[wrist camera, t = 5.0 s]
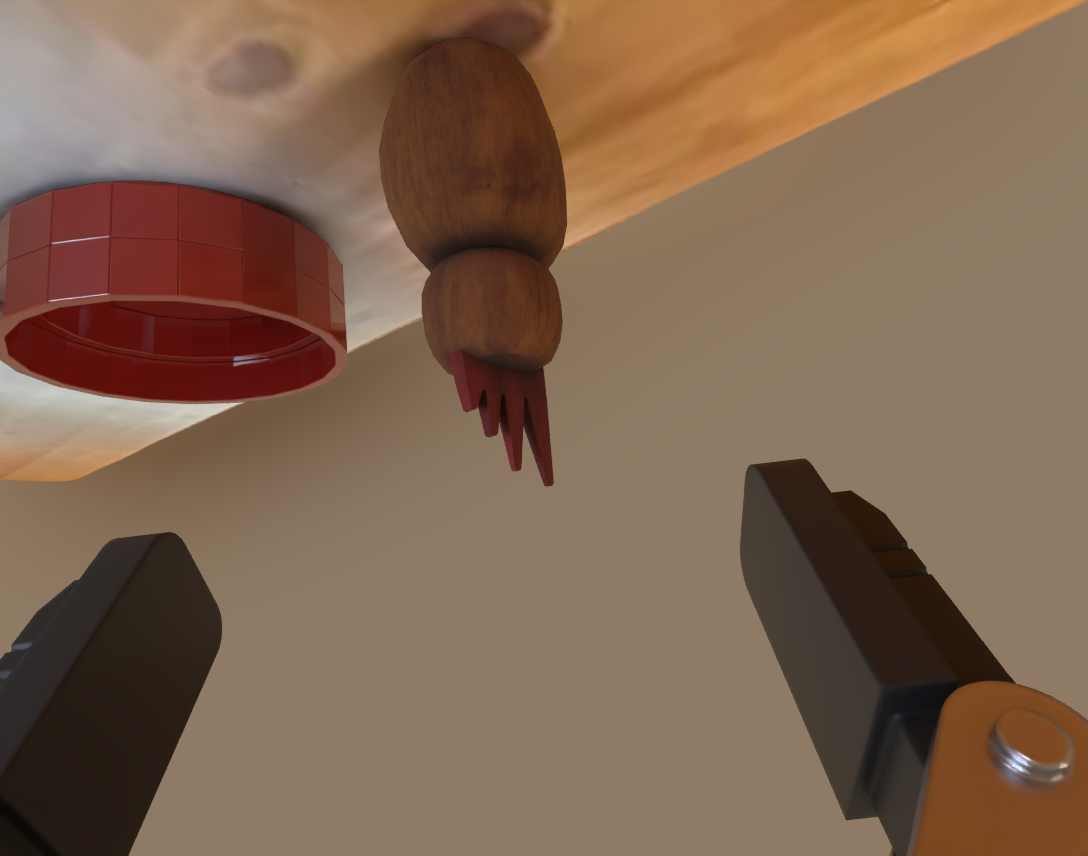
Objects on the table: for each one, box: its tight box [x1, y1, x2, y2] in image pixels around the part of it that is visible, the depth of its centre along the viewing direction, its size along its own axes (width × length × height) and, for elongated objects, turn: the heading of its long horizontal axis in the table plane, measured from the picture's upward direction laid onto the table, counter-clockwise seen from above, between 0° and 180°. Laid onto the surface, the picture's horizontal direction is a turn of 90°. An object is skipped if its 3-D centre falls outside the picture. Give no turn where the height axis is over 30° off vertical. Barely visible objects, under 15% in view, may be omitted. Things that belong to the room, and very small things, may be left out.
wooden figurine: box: [379, 38, 567, 486], centre depth 23 cm, size 7×6×15 cm
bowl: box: [0, 181, 347, 404], centre depth 33 cm, size 15×15×6 cm
